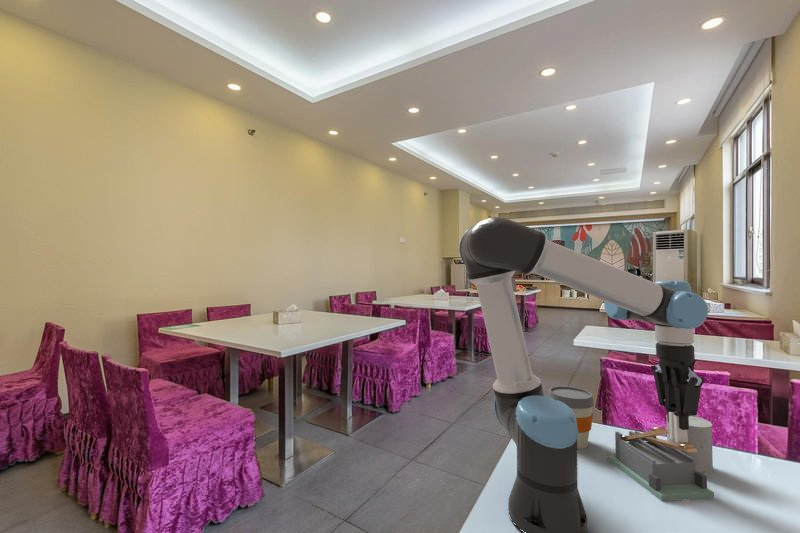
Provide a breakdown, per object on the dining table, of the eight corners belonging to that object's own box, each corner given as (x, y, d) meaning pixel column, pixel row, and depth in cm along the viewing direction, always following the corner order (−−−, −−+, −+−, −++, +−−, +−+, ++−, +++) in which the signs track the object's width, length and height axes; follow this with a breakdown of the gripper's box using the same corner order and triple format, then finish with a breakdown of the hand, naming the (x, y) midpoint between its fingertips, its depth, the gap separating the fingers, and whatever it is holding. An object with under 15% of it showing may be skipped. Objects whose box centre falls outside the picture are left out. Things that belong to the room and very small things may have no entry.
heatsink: (661, 500, 79) (660, 463, 79) (607, 459, 97) (607, 429, 97) (714, 497, 80) (713, 461, 81) (651, 457, 98) (650, 428, 98)
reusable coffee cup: (542, 432, 114) (541, 385, 115) (581, 432, 114) (580, 386, 114) (559, 451, 101) (559, 399, 102) (603, 452, 101) (602, 399, 102)
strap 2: (687, 453, 82) (685, 445, 82) (639, 440, 96) (637, 433, 97) (698, 453, 82) (696, 445, 82) (648, 440, 96) (647, 433, 97)
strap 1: (659, 435, 83) (656, 427, 83) (620, 441, 95) (618, 435, 96) (670, 434, 83) (667, 426, 84) (630, 441, 96) (627, 434, 96)
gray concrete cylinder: (661, 454, 100) (660, 411, 100) (702, 460, 97) (701, 415, 97) (675, 472, 91) (674, 424, 91) (721, 479, 88) (720, 429, 88)
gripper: (715, 347, 80) (720, 453, 79) (665, 338, 94) (669, 428, 93) (685, 348, 80) (690, 454, 79) (638, 339, 94) (642, 429, 92)
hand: (678, 440), depth 86 cm, fingers closed
